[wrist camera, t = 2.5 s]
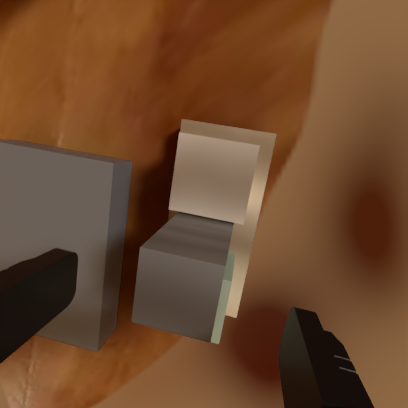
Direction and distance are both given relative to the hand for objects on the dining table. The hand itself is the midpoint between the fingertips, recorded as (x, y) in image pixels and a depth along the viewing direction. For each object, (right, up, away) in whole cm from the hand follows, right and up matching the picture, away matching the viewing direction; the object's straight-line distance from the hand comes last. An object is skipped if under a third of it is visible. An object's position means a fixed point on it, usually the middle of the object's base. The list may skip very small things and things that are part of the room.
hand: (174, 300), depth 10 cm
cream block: (+2, +6, +8) cm, 10 cm away
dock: (-11, +1, +13) cm, 17 cm away
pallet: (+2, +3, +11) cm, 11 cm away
